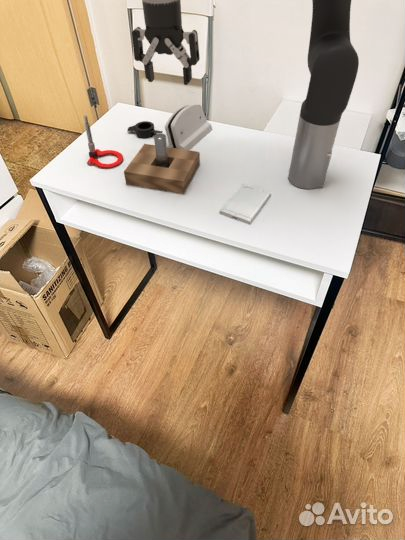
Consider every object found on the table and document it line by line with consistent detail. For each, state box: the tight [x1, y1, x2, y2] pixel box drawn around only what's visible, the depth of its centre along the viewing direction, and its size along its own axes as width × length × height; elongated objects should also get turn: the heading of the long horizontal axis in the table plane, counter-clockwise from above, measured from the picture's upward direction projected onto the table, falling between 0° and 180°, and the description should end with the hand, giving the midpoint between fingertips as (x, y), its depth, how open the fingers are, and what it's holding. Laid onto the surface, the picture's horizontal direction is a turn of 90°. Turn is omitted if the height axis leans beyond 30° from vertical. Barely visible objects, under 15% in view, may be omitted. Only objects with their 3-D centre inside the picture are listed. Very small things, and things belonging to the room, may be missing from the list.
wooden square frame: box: [123, 143, 201, 195], centre depth 101 cm, size 16×14×4 cm
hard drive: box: [218, 183, 272, 225], centre depth 93 cm, size 2×8×12 cm
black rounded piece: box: [127, 120, 164, 140], centre depth 116 cm, size 8×10×3 cm
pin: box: [153, 133, 169, 168], centre depth 98 cm, size 3×3×11 cm
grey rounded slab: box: [164, 103, 213, 151], centre depth 112 cm, size 17×5×10 cm, turn 149°
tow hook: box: [83, 115, 124, 170], centre depth 102 cm, size 8×13×9 cm
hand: (168, 82), depth 86 cm, fingers open, 8 cm apart
